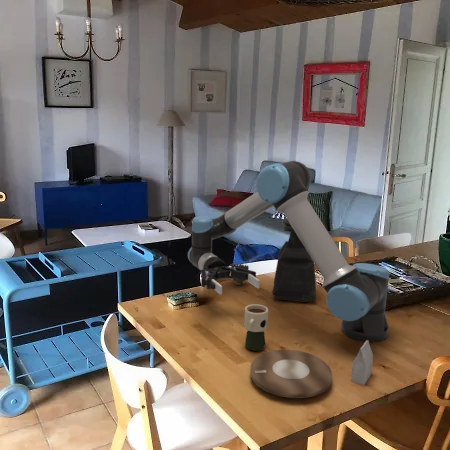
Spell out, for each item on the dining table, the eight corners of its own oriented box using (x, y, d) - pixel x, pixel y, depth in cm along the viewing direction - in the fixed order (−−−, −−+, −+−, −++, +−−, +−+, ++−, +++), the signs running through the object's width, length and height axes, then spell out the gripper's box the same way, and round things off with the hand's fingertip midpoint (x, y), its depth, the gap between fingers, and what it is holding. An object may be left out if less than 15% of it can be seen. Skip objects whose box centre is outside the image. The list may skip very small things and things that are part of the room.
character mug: (260, 358, 145) (262, 317, 142) (238, 353, 147) (239, 313, 144) (271, 342, 155) (273, 304, 151) (250, 337, 157) (251, 300, 154)
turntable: (313, 351, 146) (314, 346, 146) (345, 393, 125) (345, 387, 125) (242, 357, 142) (242, 352, 141) (262, 402, 121) (262, 396, 120)
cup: (246, 288, 198) (247, 270, 196) (228, 287, 200) (229, 268, 198) (249, 282, 205) (250, 264, 203) (232, 280, 207) (232, 262, 205)
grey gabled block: (371, 373, 138) (374, 341, 135) (364, 385, 132) (367, 351, 130) (358, 370, 139) (361, 338, 137) (350, 380, 134) (353, 347, 131)
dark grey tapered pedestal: (274, 285, 203) (277, 215, 195) (314, 288, 200) (319, 217, 193) (272, 302, 185) (275, 225, 178) (315, 305, 183) (321, 228, 176)
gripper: (242, 271, 180) (273, 292, 162) (179, 281, 170) (204, 304, 151) (243, 252, 179) (274, 271, 160) (179, 260, 168) (204, 281, 149)
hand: (240, 287), depth 156 cm, fingers open, 13 cm apart
